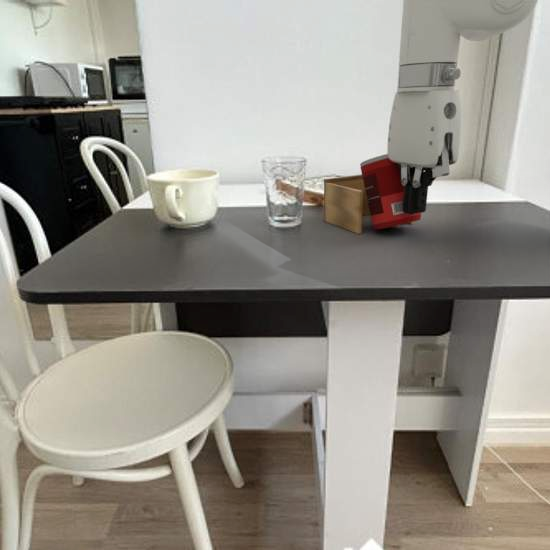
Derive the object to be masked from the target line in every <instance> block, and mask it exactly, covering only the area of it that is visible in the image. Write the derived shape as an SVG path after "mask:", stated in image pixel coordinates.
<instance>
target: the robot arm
mask: <svg viewBox="0 0 550 550" xmlns="http://www.w3.org/2000/svg"><path fill="white" fill-rule="evenodd" d="M538 1H539V0H403V2H402V12H401V13H402V15H401V26H400V27H401V28H400V43H399V55H398V56H399V57H398V58H399V60H398V70H397V71H398V73H397V86H396V87H397V88H396V92H395V94H394V98H393V102H392V107H391V112H390V117H389V123H388V125H389V126H388V132H387V146H386V147H387V149H386V151H387V153H386V154H388V158H389V159H390V160H391V161H392V162H395V163H398V172H399V174H400V176H401V183H402V185H403V186H404V198H403V212H405V213H408V214H416V213H421V214H422V213H425V212H426V211H427V202H428V194H429V193H428V191H429V187H431V186H432V185H433V183H434V181H435V180H436V179H437V178H441V177H447V176H449V175H450V172H451V171H450V166H452V165H454V164H456V163H457V161H458V159H459V153H460V144H461V127H462V126H461V125H462V108H461V107H462V105H461V95H460V90H458V89H456V90H455V87H456V86H455V85H456V80H458V79H459V78H460V77H461V69H460V68H458V60H459V53H460V43H461V37H462V38H463V39H465V40H467V41H471V42H483V41H486V40H488V39H492V38H493V37H496V36H498V35H501V34H504V33H506V32H508V31H511V30H512V29H514V28H516V27H518V26H519V25H520V24H522V23H523V22H524V21H525V20H526V19H527V18H528V17H529V16H530V15H531V13H533V11H534V9H535V8H536V5H537V3H538Z"/></svg>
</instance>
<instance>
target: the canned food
mask: <svg viewBox="0 0 550 550" xmlns="http://www.w3.org/2000/svg"><path fill="white" fill-rule="evenodd" d="M359 165H360V167H359V168H360V172H361V174H362V178H363V182H364V187H365V192H366V196H367V201H368V206H369V210H370V214H369V215H370V219H371V224H372V227H373V228H374V230H383V229H388V228H391V227H392V228H393V227H397V226H401V225H405V224H409V223H410V222H414V223H415V222H417V221H420V220H421V218H422V213H416V214H408V213H405V212H403V198H404V186H403V185H402V183H401V176H400V174H399V172H398V163H395V162H392V161H391V160H390V159H389V158H388V153H385V154H381V155H378V156H374V157H372V158H369V159H366V160H363V161H361V163H360V164H359Z"/></svg>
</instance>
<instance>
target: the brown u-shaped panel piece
mask: <svg viewBox="0 0 550 550" xmlns="http://www.w3.org/2000/svg"><path fill="white" fill-rule="evenodd" d="M367 215H370V210H369V206H368V201H367V196H366V192H365V187H364V182H363V178H362V173H361V174H353V175H346V176H338V177H330V178H323V222H327V223H328V224H332V225H334V226H336V227H339V228H342V229H344V230H346V231H349V232H352V233H355V234H358V235H362V227H363V225H362V224H363V223H362V222H363V216H367ZM409 224H410V225H414V224H415V221H414V222H410V223H408V225H409Z"/></svg>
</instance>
